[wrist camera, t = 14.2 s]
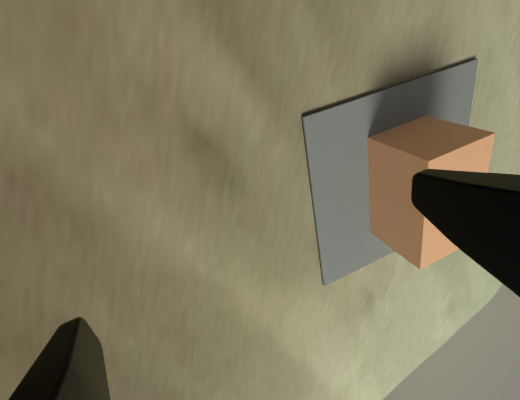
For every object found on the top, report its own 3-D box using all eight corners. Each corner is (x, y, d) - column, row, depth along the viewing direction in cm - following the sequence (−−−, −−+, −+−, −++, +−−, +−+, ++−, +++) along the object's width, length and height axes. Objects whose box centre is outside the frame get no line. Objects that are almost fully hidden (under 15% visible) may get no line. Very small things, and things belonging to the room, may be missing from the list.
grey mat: (322, 284, 27) (324, 285, 27) (301, 116, 20) (303, 117, 19) (453, 220, 30) (455, 221, 30) (475, 58, 23) (478, 59, 23)
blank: (370, 232, 26) (420, 269, 22) (367, 137, 22) (428, 161, 18) (419, 209, 27) (475, 240, 23) (425, 115, 23) (495, 133, 19)
